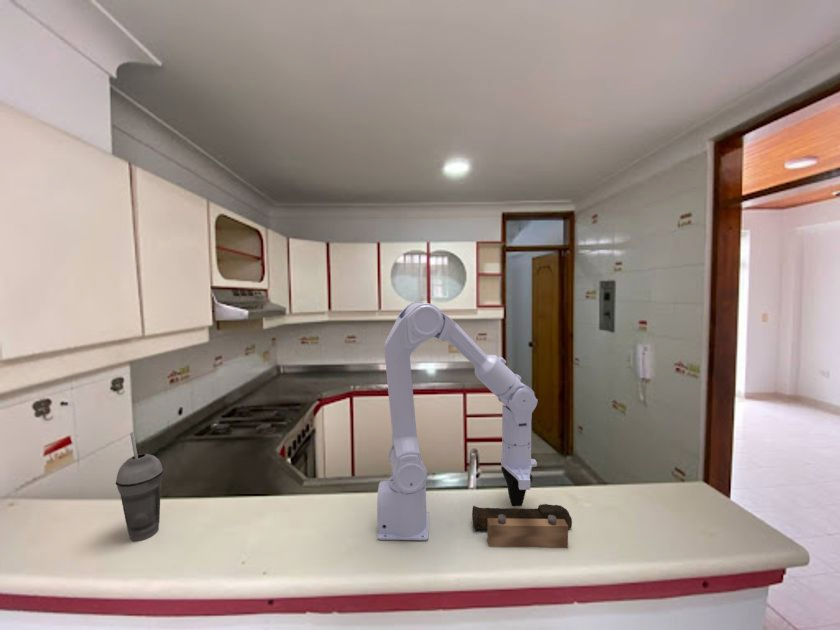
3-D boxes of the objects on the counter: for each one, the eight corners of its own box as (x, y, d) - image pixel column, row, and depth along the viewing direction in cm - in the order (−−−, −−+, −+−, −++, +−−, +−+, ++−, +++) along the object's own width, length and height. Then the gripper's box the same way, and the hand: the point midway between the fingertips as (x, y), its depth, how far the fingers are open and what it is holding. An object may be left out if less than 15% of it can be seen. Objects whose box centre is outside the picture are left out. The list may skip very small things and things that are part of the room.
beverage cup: (143, 548, 65) (135, 442, 64) (109, 544, 67) (101, 439, 65) (176, 523, 72) (170, 426, 71) (145, 519, 74) (138, 424, 72)
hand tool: (472, 534, 68) (472, 511, 68) (471, 520, 72) (471, 498, 72) (575, 540, 66) (576, 516, 66) (569, 526, 70) (569, 503, 70)
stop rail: (488, 546, 65) (488, 519, 64) (487, 538, 67) (487, 513, 66) (567, 547, 64) (568, 520, 64) (563, 539, 66) (564, 513, 66)
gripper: (547, 457, 66) (546, 527, 67) (527, 426, 80) (527, 485, 81) (508, 456, 66) (508, 527, 67) (495, 426, 80) (495, 484, 81)
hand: (516, 504), depth 74 cm, fingers closed
